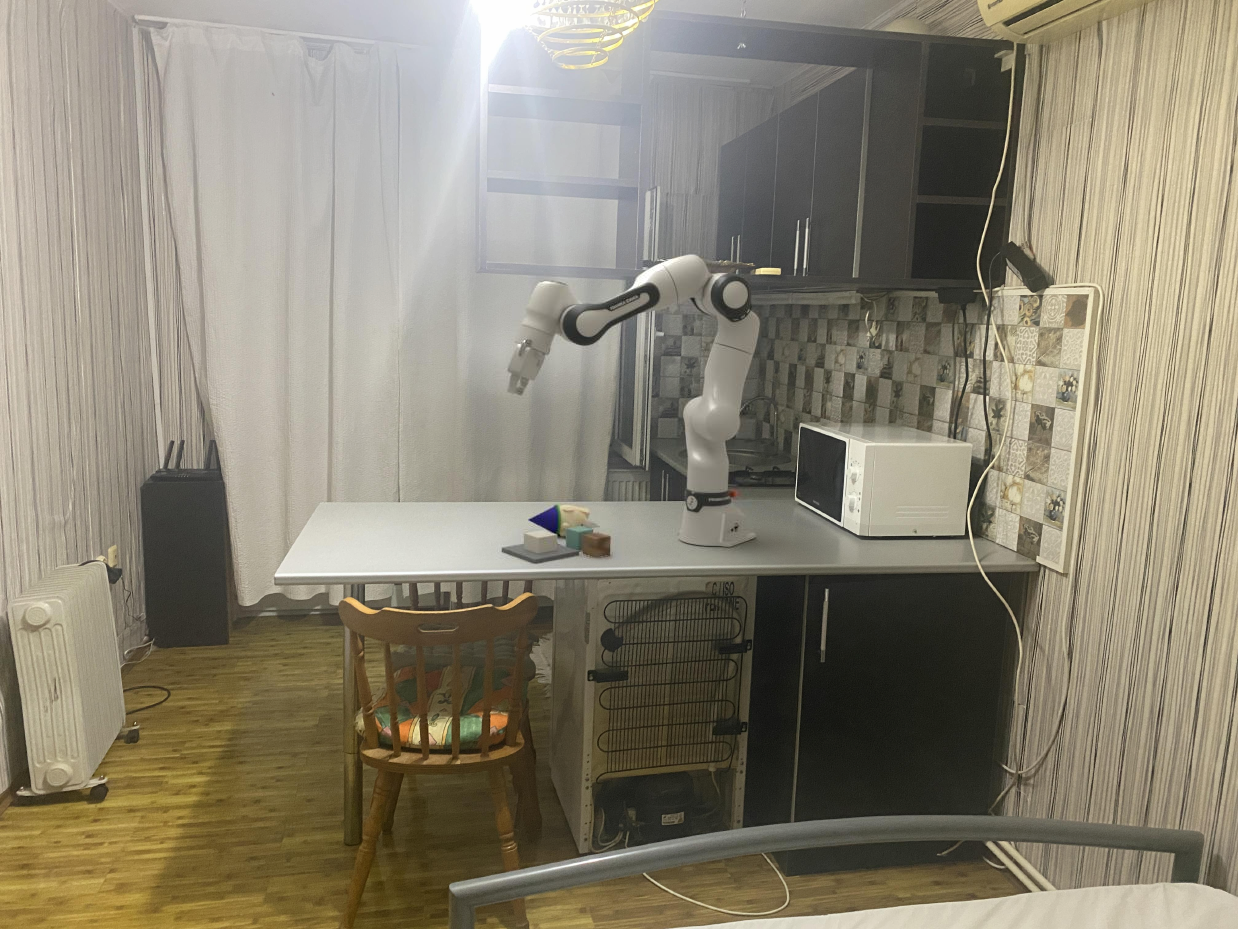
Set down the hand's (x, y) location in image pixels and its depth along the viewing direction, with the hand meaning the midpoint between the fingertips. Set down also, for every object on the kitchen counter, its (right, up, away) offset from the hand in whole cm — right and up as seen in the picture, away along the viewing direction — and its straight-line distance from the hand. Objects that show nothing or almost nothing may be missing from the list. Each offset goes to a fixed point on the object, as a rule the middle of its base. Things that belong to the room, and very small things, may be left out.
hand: (514, 393), depth 231 cm
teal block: (+16, -39, +10) cm, 44 cm away
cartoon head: (+11, -37, +22) cm, 45 cm away
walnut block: (+20, -41, +3) cm, 46 cm away
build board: (+6, -40, +2) cm, 41 cm away
